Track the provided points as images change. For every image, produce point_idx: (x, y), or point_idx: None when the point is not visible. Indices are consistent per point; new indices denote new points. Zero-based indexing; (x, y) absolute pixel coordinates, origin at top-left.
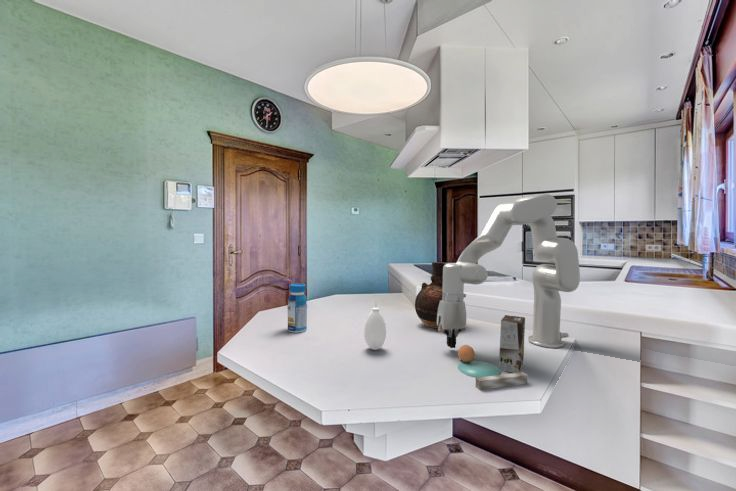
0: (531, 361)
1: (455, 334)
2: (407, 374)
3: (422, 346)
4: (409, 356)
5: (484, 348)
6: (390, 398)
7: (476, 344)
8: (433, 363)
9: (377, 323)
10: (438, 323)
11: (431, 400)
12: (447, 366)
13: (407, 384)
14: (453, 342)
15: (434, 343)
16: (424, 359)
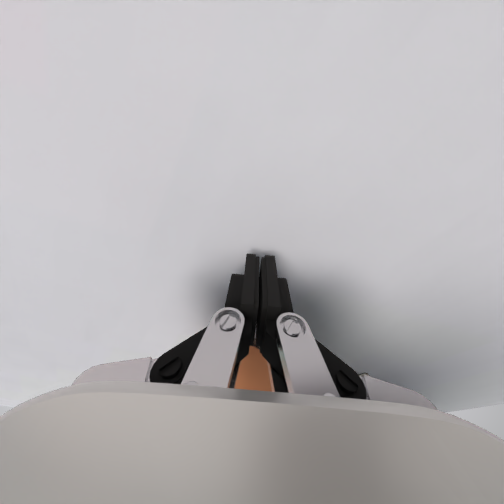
0: (435, 390)
1: (272, 374)
2: (30, 354)
3: (104, 133)
4: (19, 256)
5: (447, 286)
6: (7, 396)
7: (492, 225)
8: (122, 329)
9: None
10: (2, 446)
11: None
12: (164, 352)
13: (36, 379)
14: (257, 315)
15: (227, 91)
16: (92, 298)
